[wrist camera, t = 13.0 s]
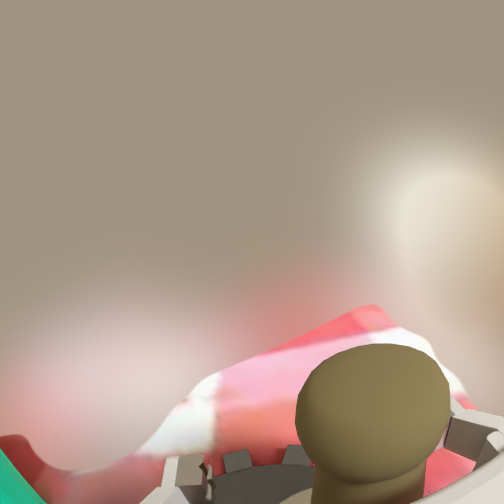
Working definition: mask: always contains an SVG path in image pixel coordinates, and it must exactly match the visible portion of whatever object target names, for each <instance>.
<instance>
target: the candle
mask: <svg viewBox="0 0 504 504" xmlns="http://www.w3.org/2000/svg"><path fill="white" fill-rule="evenodd" d="M0 504H47V503H46V502H45V501H44V500H43V499H42V498H41V497H40V496H39V495H38V494H37V492H36V491H35V490H34V489H33V488H32V487H31V486H30V485H29V483H28V482H27V481H26V480H25V479H24V478H23V476H22V475H21V474H20V473H19V472H18V470H17V469H16V468H15V467H14V465H13V464H12V463H11V462H10V460H9V459H8V458H7V456H6V455H5V454H4V453H3V451H2V450H1V448H0Z"/></svg>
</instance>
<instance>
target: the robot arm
mask: <svg viewBox="0 0 504 504" xmlns="http://www.w3.org/2000/svg"><path fill="white" fill-rule="evenodd" d="M450 405H451V413H450V417H449V421H448V424H447V427H446V429H445V431H444V434H443V436H442V438H441V440H440V442H439V444H438V445H437V447H436V448H435V450H434V451H436V450H438V449H440V448H442V447H444V448H446V449H448V450H450V451H452V452H455V453H457V454H459V455H461V456H464V457H466V458H468V459H471V460H473V461H475V462H476V464H475V467H474V469H473V471H472V472H471V473H469V474H467V475H466V476H464V477H462V478H460V479H459V480H457V481H455V482H453V483H451V484H449V485H448V486H446V487H444V488H442V489H440V490H438V491H436V492H434V493H432V494H430V495H428V496H425V497H423V498H421V499H419V500H417V501H414V502H412V503H410V504H504V417H501V416H497V415H492V414H488V413H484V412H480V411H475V410H471V409H466V410H465V409H464V408H463V407H462V406H461V405H460V404H459V403H458V402H457V401H456V400H455V399H454V398H453V397H452V396H451V395H450ZM215 488H216V477H215V473H214V470H213V468H212V466H210V465H209V459H208V457H207V455H205V454H203V455H187V456H168V457H167V459H166V461H165V467H164V472H163V477H162V483H161V487H157V488H155V489H154V490H153V491H152V492H151V493H150V494H149V495H148V496H147V497H146V498H145V499H144V500H143V501H141V502H140V503H139V504H216V495H215V493H214V489H215Z"/></svg>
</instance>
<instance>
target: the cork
mask: <svg viewBox="0 0 504 504" xmlns="http://www.w3.org/2000/svg"><path fill="white" fill-rule="evenodd" d="M450 413H451V405H450V390H449V383H448V381H447V379H446V378H445V376H444V374H443V372H442V371H441V369H440V367H439V366H438V364H437V363H436V361H435V360H433V359H432V358H431V357H429V356H428V355H427V354H426V353H424V352H422V351H419V350H417V349H414V348H412V347H409V346H402V345H396V344H369V345H363V346H357V347H354V348H351V349H348V350H345V351H342V352H339V353H337V354H335V355H333V356H332V357H330V358H328V359H326V360H324V361H323V362H322V363H321V364H320V365H318V366H317V367H316V368H315V369H314V370H313V371H312V372H311V374H310V375H309V377H308V379H307V380H306V382H305V384H304V385H303V387H302V389H301V391H300V393H299V394H298V399H297V405H296V417H295V425H296V430H297V435H298V437H299V440H300V442H301V445H302V447H303V449H304V451H305V453H306V454H307V456H308V457H309V459H310V460H311V461H312V462H313V463H314V464H315V470H314V478H313V487H312V495H311V503H310V504H410V503H412V502H414V501H417V500H419V499H421V498H423V493H424V483H425V471H426V459H427V458H428V457H429V456H430V455H431V454H432V453H433V451H434V450H435V448H436V447H437V445H438V444H439V442H440V440H441V438H442V436H443V434H444V431H445V429H446V427H447V424H448V421H449V417H450Z"/></svg>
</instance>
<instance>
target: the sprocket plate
mask: <svg viewBox="0 0 504 504" xmlns="http://www.w3.org/2000/svg"><path fill="white" fill-rule="evenodd" d="M223 459H224V464H225V469H226V473H225V474H223V475H220V476H217V477H216V488H215V489H214V493H215V495H216V504H310V503H311V495H312V487H313V478H314V470H315V467H313V466H312V465H313V462H312V461H311V460H310V459H309V457H308V456H307V454H306V453H305V451H304V449H303V447H302V445H288V447H287V450H286V453H285V456H284V459H283V461H282V464H276V465H263V466H255V467H253V464H252V460H251V457H250V454H249V451H248V449H244V450H240V451H236V452H232V453H228V454H223Z"/></svg>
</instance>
